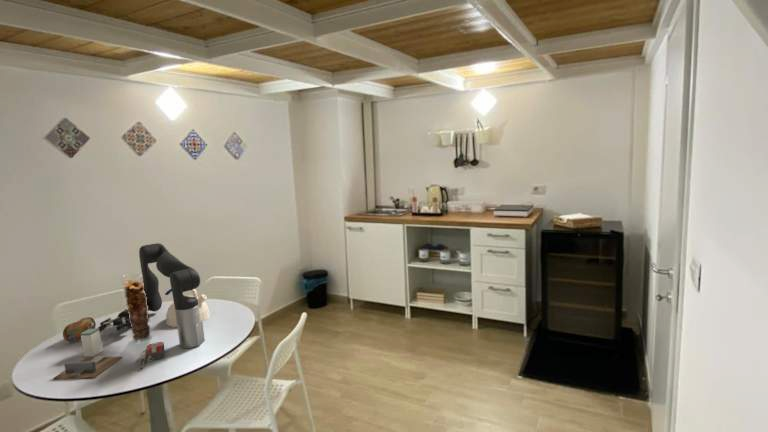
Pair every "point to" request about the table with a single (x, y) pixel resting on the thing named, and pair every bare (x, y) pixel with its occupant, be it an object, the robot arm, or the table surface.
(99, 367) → the mounting board
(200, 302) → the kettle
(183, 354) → the table surface
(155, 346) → the walkie-talkie
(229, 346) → the table surface
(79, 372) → the rail
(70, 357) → the table surface
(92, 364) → the block
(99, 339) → the block
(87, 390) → the table surface
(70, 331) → the tin
